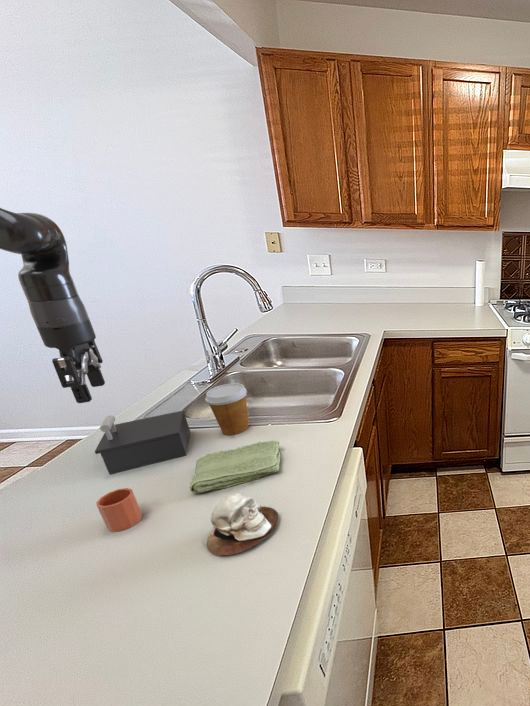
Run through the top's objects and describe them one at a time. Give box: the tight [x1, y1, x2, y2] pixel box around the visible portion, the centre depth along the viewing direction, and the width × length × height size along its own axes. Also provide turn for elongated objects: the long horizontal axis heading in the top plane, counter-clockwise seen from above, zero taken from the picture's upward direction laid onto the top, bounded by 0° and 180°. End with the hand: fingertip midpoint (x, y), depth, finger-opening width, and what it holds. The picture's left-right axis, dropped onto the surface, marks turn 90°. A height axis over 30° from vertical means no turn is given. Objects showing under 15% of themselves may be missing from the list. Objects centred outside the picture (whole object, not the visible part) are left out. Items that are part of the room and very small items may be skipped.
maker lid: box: [94, 410, 185, 455], centre depth 96 cm, size 15×13×5 cm
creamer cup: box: [96, 487, 143, 533], centre depth 76 cm, size 5×5×6 cm
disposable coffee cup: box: [204, 382, 250, 436], centre depth 107 cm, size 10×10×12 cm
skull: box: [205, 492, 280, 556], centre depth 74 cm, size 12×10×10 cm
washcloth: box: [189, 440, 281, 494], centre depth 92 cm, size 13×18×3 cm
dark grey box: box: [100, 412, 191, 475], centre depth 98 cm, size 15×13×6 cm
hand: (92, 393), depth 84 cm, fingers open, 8 cm apart
